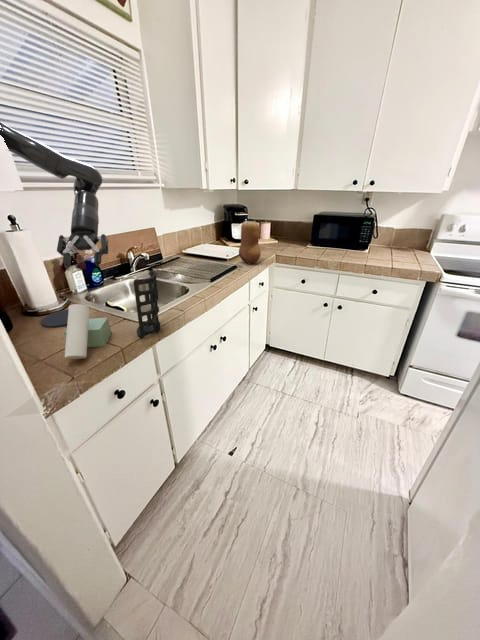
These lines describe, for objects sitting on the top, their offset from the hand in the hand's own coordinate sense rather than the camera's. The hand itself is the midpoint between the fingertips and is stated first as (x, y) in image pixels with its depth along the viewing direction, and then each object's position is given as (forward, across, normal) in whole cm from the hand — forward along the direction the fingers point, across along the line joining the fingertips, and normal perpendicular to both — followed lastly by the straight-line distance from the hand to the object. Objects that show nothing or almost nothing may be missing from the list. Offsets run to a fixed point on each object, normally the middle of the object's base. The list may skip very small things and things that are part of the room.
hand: (82, 265), depth 81 cm
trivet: (+9, -16, +23) cm, 29 cm away
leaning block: (+22, 0, +10) cm, 24 cm away
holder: (+19, +18, +13) cm, 29 cm away
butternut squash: (-36, +67, +68) cm, 102 cm away
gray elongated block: (+26, 0, +5) cm, 27 cm away
